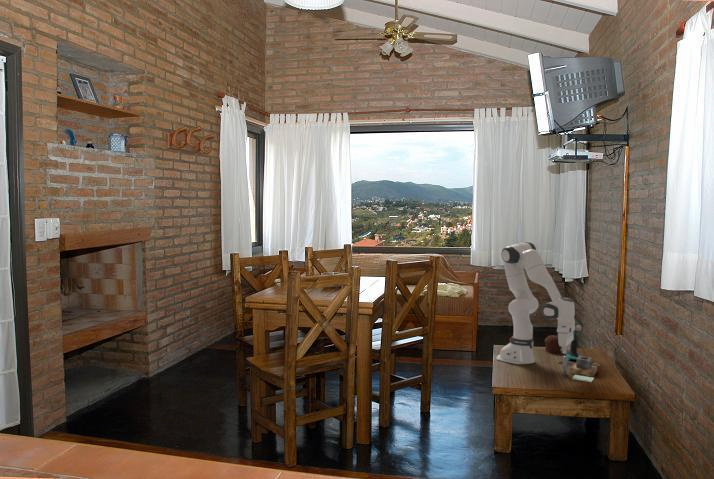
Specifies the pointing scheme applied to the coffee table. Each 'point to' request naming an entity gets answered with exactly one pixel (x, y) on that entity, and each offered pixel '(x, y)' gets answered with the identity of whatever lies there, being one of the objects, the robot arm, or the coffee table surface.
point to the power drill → (575, 341)
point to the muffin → (552, 344)
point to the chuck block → (584, 366)
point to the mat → (583, 378)
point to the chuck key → (565, 365)
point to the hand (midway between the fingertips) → (566, 351)
